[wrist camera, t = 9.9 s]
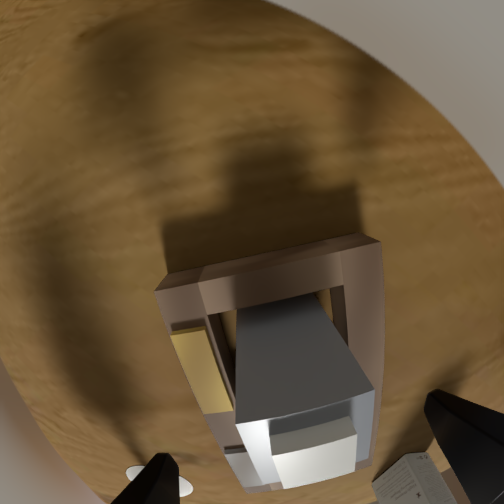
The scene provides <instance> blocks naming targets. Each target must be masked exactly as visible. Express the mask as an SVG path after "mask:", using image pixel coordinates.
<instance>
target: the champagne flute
mask: <svg viewBox="0 0 504 504" xmlns="http://www.w3.org/2000/svg"><path fill="white" fill-rule="evenodd" d="M144 467H145V466H133V467H130V468H128V469H127V470H126V475H127V477H128V478H129V479H130V480H131V481H132V480H133V479H134V478H135V477H136V476H137V475H138V474H139V472H140V471H141V470H142V469H143V468H144ZM179 490H180V497H182V496H186V495H189V494H190V493H192V491H193V487H192V485H191V484H190V483H189V482H188V481H187V480H186V479H184V478H182V477H181V476H179Z"/></svg>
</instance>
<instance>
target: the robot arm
mask: <svg viewBox="0 0 504 504" xmlns="http://www.w3.org/2000/svg"><path fill="white" fill-rule="evenodd" d="M424 413H425V415H426V418H427V420H428V422H429V424H430V427H431V429H432V431H433V434H434V436H435V438H436V440H437V443H438V445H439V446H440V448H441V450H442V452H443V453H444V455H445V457H446V458H447V460H448V462H449V464H450V465H451V467H452V469H453V470H454V473H455V474H456V476H457V478H458V480H459V482H460V483H461V485H462V487H463V489H464V491H465V493H466V495H467V496H468V498H469V500H470V502H471V504H504V414H503V413H500V412H497V411H494V410H492V409H489V408H486V407H484V406H481V405H478V404H476V403H473V402H470V401H468V400H465V399H463V398H460V397H458V396H455V395H453V394H450V393H448V392H445V391H443V390H440V389H435V390H433V391H431V392H429V393H428V394H427V397H426V401H425V405H424ZM111 504H180V490H179V467H178V465H177V463H176V462H175V461H174V459H173V458H172V457H171V455H170V454H169V453H157V454H156V455H155V456H154V457H153V458H152V459H151V460H150V461H149V462H148V464H147V465H146V466H145V467H144V468H143V469H142V470H141V471H140V472H139V474H138V475H137V476H136V477H135V478H134V479H133V480H132V481H131V482H130V483H129V485H128V486H127V487H126V488H125V489H124V490H123V491H122V492H121V493H120V494H119V495H118V496H117V497H116V498H115V499H114V500H113V501H112V503H111Z"/></svg>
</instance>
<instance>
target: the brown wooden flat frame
mask: <svg viewBox="0 0 504 504" xmlns="http://www.w3.org/2000/svg"><path fill="white" fill-rule="evenodd" d="M328 288H330V294H331V303H332V312H333V321H334V326H335V328H336V329H337V331H338V332H339V334H340V335H341V337H342V338H343V340H344V342H345V343H346V345H347V346H348V348H349V349H350V351H351V352H352V354H353V356H354V357H355V359H356V360H357V362H358V363H359V365H360V367H361V368H362V370H363V371H364V373H365V374H366V376H367V378H368V379H369V381H370V382H371V384H372V386H373V387H374V389H375V397H374V411H373V422H372V432H371V441H370V449H369V456H368V458H367V459H365V460H362V461H359V462H356V463H355V471H356V470H359V469H362V468H365V467H368V466H371V465H372V461H373V455H374V450H375V444H376V437H377V431H378V423H379V415H380V407H381V397H382V385H383V370H384V347H385V301H384V277H383V262H382V249H381V242H380V241H378V240H376V239H373V238H371V237H369V236H366V235H364V234H361V233H359V232H358V233H354V234H349V235H345V236H340V237H336V238H331V239H327V240H322V241H318V242H313V243H308V244H304V245H299V246H295V247H290V248H286V249H281V250H277V251H272V252H267V253H263V254H258V255H254V256H249V257H244V258H240V259H235V260H231V261H226V262H221V263H217V264H212V265H208V266H203V267H198V268H194V269H189V270H184V271H180V272H175V273H170V274H167V275H166V277H165V278H164V279H163V280H162V282H161V283H160V284H159V286H158V287H157V288H156V289H155V291H154V294H155V297H156V300H157V303H158V306H159V308H160V311H161V314H162V317H163V320H164V323H165V325H166V328H167V331H168V333H169V336H170V339H171V341H172V344H173V346H174V349H175V352H176V354H177V356H178V359H179V361H180V364H181V366H182V369H183V371H184V373H185V376H186V378H187V380H188V383H189V385H190V387H191V389H192V392H193V394H194V396H195V398H196V400H197V403H198V405H199V407H200V409H201V411H202V413H203V415H204V417H205V419H206V421H207V423H208V425H209V427H210V429H211V431H212V433H213V435H214V437H215V439H216V441H217V443H218V445H219V447H220V448H221V450H222V452H223V454H224V456H225V458H226V459H227V461H228V463H229V465H230V466H231V468H232V470H233V472H234V473H235V475H236V477H237V478H238V480H239V482H240V483H241V485H242V487H243V488H244V490H245V492H246V493H247V494H248V493H257V492H265V491H272V490H278V489H284V488H283V485H282V482H275V483H269V484H263V483H262V481H261V479H260V477H259V475H258V473H257V471H256V469H255V467H254V464H253V462H252V460H251V458H250V456H249V454H248V452H247V449H246V447H245V445H244V443H243V441H242V438H241V436H240V434H239V431H238V429H237V427H236V425H235V402H236V371H235V368H234V365H233V361H232V358H231V355H230V352H229V349H228V345H227V342H226V339H225V335H224V332H223V329H222V325H221V322H220V319H219V315H218V313H220V312H225V311H230V310H235V309H240V308H245V307H250V306H254V305H259V304H264V303H268V302H273V301H277V300H282V299H286V298H291V297H295V296H299V295H303V294H308V293H312V292H316V291H320V290H324V289H328Z"/></svg>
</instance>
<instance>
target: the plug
mask: <svg viewBox="0 0 504 504" xmlns="http://www.w3.org/2000/svg"><path fill="white" fill-rule="evenodd" d="M374 397H375V389H374V387H373V386H372V384H371V382H370V381H369V379H368V378H367V376H366V374H365V373H364V371H363V370H362V368H361V367H360V365H359V363H358V362H357V360H356V359H355V357H354V356H353V354H352V352H351V351H350V349H349V348H348V346H347V345H346V343H345V342H344V340H343V338H342V337H341V335H340V334H339V332H338V331H337V329H336V328H335V326H334V325H333V323H332V322H331V320H330V318H329V317H328V315H327V314H326V312H325V311H324V309H323V308H322V306H321V305H320V303H319V302H318V300H317V299H316V297H315V296H314V294H313V293H308V294H303V295H299V296H295V297H291V298H286V299H282V300H277V301H273V302H268V303H264V304H259V305H254V306H250V307H245V308H240V309H237V322H236V402H235V425H236V427H237V429H238V431H239V434H240V436H241V438H242V441H243V443H244V445H245V447H246V449H247V452H248V454H249V456H250V458H251V460H252V462H253V464H254V467H255V469H256V471H257V473H258V475H259V477H260V479H261V481H262V483H263V484H269V483H275V482H282V485H283V488H284V489H287V488H292V487H297V486H302V485H307V484H311V483H315V482H319V481H323V480H327V479H331V478H334V477H338V476H341V475H344V474H348V473H351V472H354V471H355V463H356V462H359V461H362V460H365V459H367V458H368V456H369V449H370V441H371V432H372V422H373V411H374Z"/></svg>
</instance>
